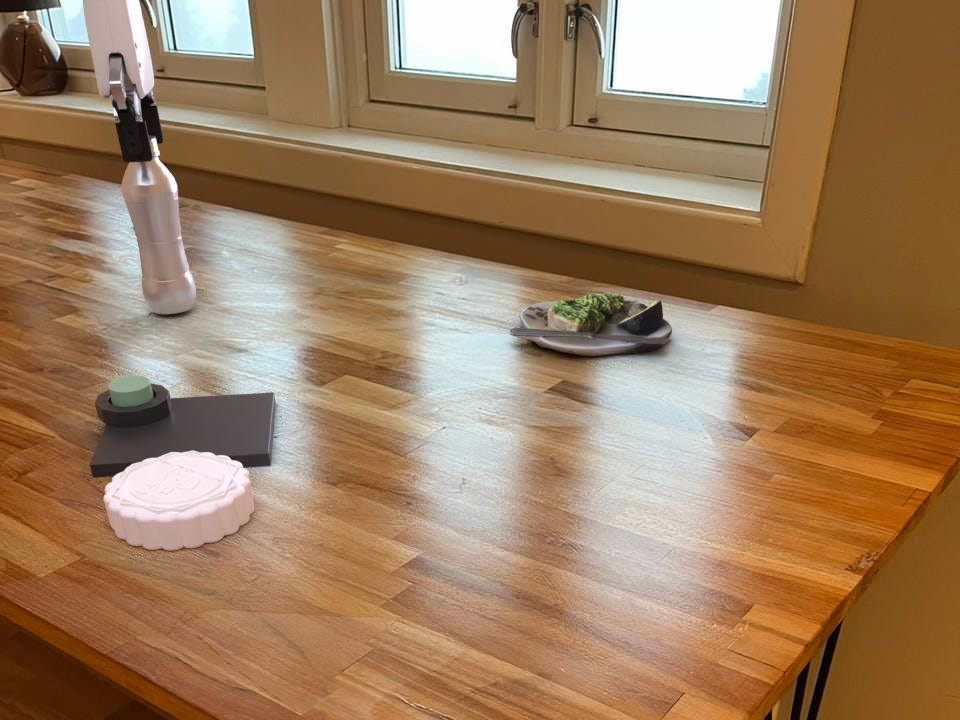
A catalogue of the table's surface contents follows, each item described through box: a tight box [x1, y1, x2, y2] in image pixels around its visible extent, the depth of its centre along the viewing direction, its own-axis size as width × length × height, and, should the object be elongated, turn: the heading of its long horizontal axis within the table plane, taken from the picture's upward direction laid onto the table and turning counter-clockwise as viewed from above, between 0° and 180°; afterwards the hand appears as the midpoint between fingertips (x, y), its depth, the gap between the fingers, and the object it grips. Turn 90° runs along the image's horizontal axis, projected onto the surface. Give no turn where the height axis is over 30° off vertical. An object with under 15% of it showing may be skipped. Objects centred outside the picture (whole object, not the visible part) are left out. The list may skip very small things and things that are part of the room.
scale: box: [89, 383, 277, 479], centre depth 93 cm, size 17×14×3 cm
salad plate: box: [509, 292, 673, 357], centre depth 114 cm, size 19×18×5 cm
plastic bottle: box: [121, 135, 197, 315], centre depth 117 cm, size 6×7×20 cm
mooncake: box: [103, 450, 255, 552], centre depth 81 cm, size 12×12×4 cm
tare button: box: [107, 375, 154, 407], centre depth 95 cm, size 4×4×2 cm
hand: (144, 152), depth 112 cm, fingers open, 9 cm apart
